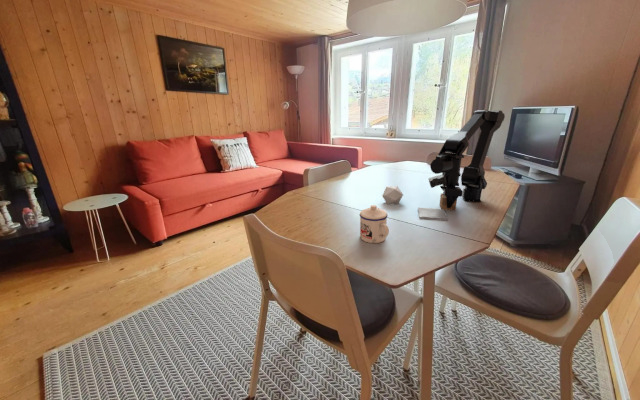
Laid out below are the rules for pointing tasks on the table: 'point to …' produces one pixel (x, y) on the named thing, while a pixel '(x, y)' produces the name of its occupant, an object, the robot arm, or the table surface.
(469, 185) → the robot arm
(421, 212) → the coaster
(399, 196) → the die
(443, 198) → the walnut cube
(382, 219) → the teacup with lid
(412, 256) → the table surface
